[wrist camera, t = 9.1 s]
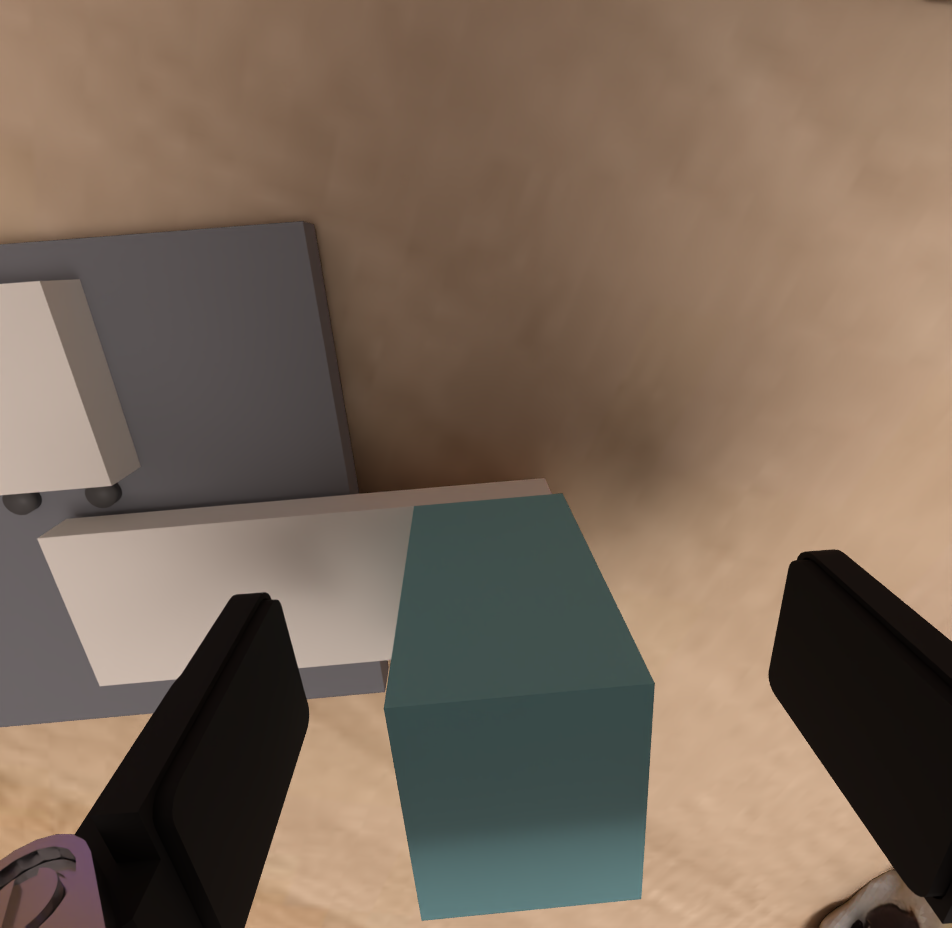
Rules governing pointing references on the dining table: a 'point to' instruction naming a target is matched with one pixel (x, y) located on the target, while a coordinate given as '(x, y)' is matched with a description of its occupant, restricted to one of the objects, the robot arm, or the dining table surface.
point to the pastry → (884, 907)
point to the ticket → (57, 400)
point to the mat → (182, 427)
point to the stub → (418, 664)
